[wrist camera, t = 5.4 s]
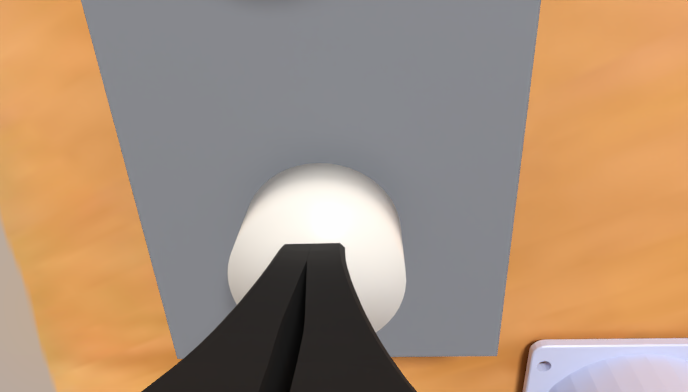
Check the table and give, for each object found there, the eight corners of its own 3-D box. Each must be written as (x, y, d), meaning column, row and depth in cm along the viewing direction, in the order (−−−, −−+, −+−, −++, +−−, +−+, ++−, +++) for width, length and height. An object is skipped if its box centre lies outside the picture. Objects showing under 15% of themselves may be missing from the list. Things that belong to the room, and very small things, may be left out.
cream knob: (395, 233, 17) (405, 347, 13) (271, 236, 17) (240, 348, 13) (395, 116, 15) (407, 202, 11) (256, 120, 16) (214, 207, 11)
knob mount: (478, 293, 19) (496, 355, 16) (202, 297, 20) (177, 358, 17) (562, -599, 9) (638, -792, 7) (16, -544, 10) (-108, -702, 7)
